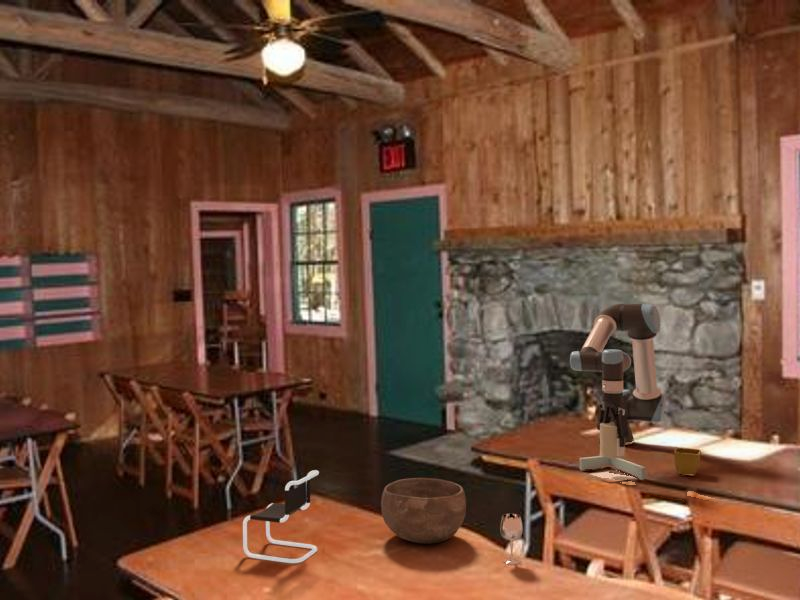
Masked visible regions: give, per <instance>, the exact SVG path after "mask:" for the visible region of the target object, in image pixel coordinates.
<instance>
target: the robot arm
mask: <svg viewBox="0 0 800 600" xmlns="http://www.w3.org/2000/svg"><path fill="white" fill-rule="evenodd" d="M660 330H661V317H660V313H659V310H658V308H657V306H655V305H654V304H649V303H648V304H646V303H617V304H613V305H610V306H608V307H606V308H605V309H603V310H601V311H600V312H599V313H598V314H597V316H596V317H595V318H594V321H593V328H592V329H591V331H590V333H589V334H588V336H587V338H586V340H585V342H584V344H583V346H582V348H581V350H580V351H579V350H577V351H576V350H575V351H572V352H570V355H569V356H570V357H569V366H570V368H571V370H573V371H578V372H596V373H598V372H599V373H601V377H602V378H601V381H602V382H601V385H602V386H601V391H602V393H601V403H602V404H599V405H598V418H597V427H596V430H597V431H600V423H610V422H614V423H615V426H617V434H618V437H617V456H624V446H625V443H626V442H632V441H634V442H635V438H634V434H633V431H632V428H631V425H630V422H631V421H636V422H650V423H659V422H661V421H662V420H663V418H664V414H665V410H666V403H667V402H666V400H667V399H666V396H665V395H664V394H662V392H661V391H662V390H661V389H660V388H658V385H657V371H656V360H655V359H656V358H655V357H656V356H655V345H654V339H655V337H657V334H658V333H659V332H660ZM615 332H627V337H628V338H629V339H630V340H631V342H632V343H631V344H632V355H633V368H634V378H635V379H634V380H635V389H634V390H633V391H632V393H631V391H630V389H624V373H625V372H627V371H628V370H629V368H630V367H631V366H632V358H631V357H630V356H629V354H627V353H626V352H624V351H623V350H621V349H611V348H609V349H604V348H605V346H606V344H607V343H608V340H609V339H610V336H612V335H613V334H615ZM599 439H600V434H599V435H598V440H599ZM625 447H626V446H625Z"/></svg>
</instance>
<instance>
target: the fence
mask: <svg viewBox="0 0 800 600" xmlns="http://www.w3.org/2000/svg"><path fill="white" fill-rule="evenodd" d="M578 460H579V463H578V464H579V465H578V466H579V468H578V469H580V470H579V471H581V472H583V471H586V470H585V469H588V468H595V467H601V466H607V465H611V466H613V467H616V468H618V469H621V470H623V471H626V472H628V473H631V474H632V475H635V476H636V477H638V478H639V479H638V478H637V479H638V480H641V481H644V479H647V478H646V477H647V475H646V474H647V473H646V472H647V471H646V470H647V469H646V468H647V467H646V466H644V465H639V464H638V463H635V462H632V461H628V460H626V459H624V458H607V457H602V456H600V455H597V456H596V455H595V456H589V457H587V456H586V457H579V459H578Z"/></svg>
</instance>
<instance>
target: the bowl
mask: <svg viewBox="0 0 800 600" xmlns="http://www.w3.org/2000/svg"><path fill="white" fill-rule="evenodd" d="M466 497H467V496H466V493H465V490H464V488H463V486H462V485H460V484H458V483H455V482H453V481H449V480H445V479H440V478H431V477H428V478H427V477H413V478H412V477H411V478H410V477H409V478H404V479H403V478H402V479H397V480H395V481H392V482H391V483H388V484H387V485H386V486H385V487H384V488H383V491H382V495H381V501H380V511H381V516H382V519H383V521H384V523H385V525H386V526H387V527H388V528H389V530H390V531H391V532H392V533H394V535H396V536H398V537H399V538H401V539H403V540H405V541H408V542H412V543H416V544H417V543H418V544H436V543H441V542H444V541H447V540H449V539H450V538H452V536H454V535H456V533H457V532H458V531H459V530H460V528H461V527H462V524H463V523H464V520H465V517H466V511H467V498H466Z"/></svg>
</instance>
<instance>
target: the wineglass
mask: <svg viewBox="0 0 800 600" xmlns="http://www.w3.org/2000/svg"><path fill="white" fill-rule="evenodd" d="M499 527H500V534H501V536H502V538H503V539H505V540H506V541H509V548H510V549H509V550H510V556H509V557H508V558H504V559H503V560H502V562H503V563H504V564H507V565H518V564H520V563H521V560H520V559H519V558H514V556H513V548H514V542H513V541H517V540H519V539H520V538H521V537H522V535H523V527H524V526H523V521H522V517H521V516H520V515H519V514H517V513H505V514H502V516H501V521H500V526H499Z"/></svg>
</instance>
